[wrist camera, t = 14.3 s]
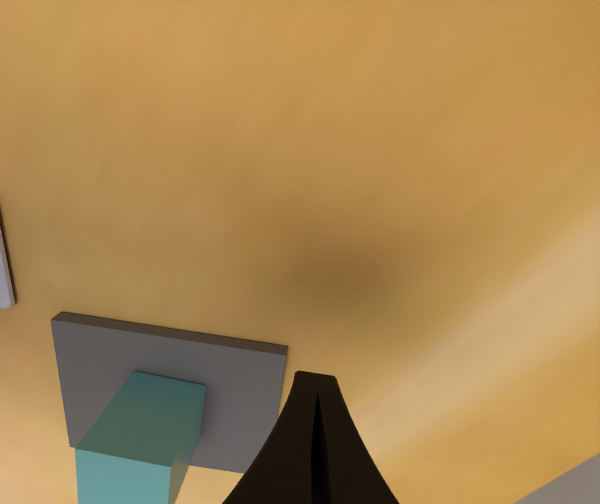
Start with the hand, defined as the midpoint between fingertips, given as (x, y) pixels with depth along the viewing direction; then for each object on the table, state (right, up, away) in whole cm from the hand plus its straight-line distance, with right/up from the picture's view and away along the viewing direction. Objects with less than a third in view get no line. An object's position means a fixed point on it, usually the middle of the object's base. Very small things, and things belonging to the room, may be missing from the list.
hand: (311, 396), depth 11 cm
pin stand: (-10, -6, +14) cm, 18 cm away
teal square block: (-10, -6, +13) cm, 18 cm away
